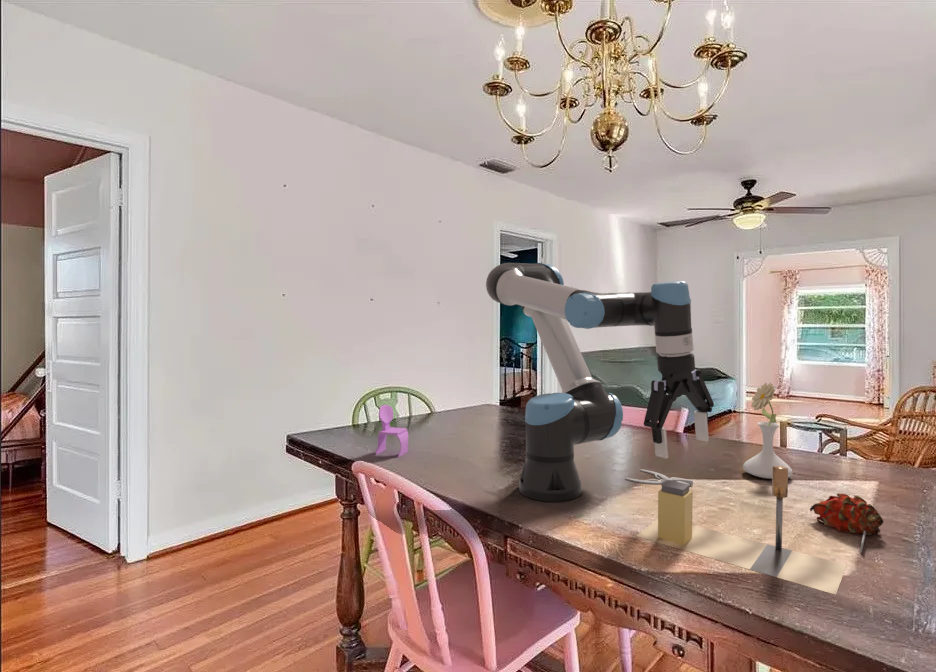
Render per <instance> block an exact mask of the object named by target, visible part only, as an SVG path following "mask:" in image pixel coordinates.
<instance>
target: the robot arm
mask: <svg viewBox="0 0 936 672" xmlns="http://www.w3.org/2000/svg"><path fill="white" fill-rule="evenodd" d="M485 287H486V291H487V294H488V295H489V297H490V298H491V299H492V300H493V301H495V302H496V303H499V304H501V305H505V306H514V305H515V306H516V305H517V306H521V309H522V312H523V314H524V315H525V316H527V317H529V318H531V319H532V322H533V324H534V327H535V328H536V331H537V333H538V336H539V338H540V341H541V343H542V345H543V347H544V350H545V353H546V354H547V357H548V360H549V363H550V365H551V367H552V369H553V371H554V372H553V373H554V374H555V377H556V379H557V381H558V383H559V386H560V388H561V392H553V393H548V392H547V393H542V394H539V395H538V394H537V395H535V396H534V397H533V396H532V397H531V398H530V399H529V400H527V403H526V404H525V414H524V421H525V461H524V465H523V468H522V470H521V471H522V472H521V474H520V477H519V481H518V491H519V493H521V494H522V495H523V496H524V497H526V498H528V497H529V498H528V499H532V500H535V501H540V500H541V502H565V501H570V500H573V499H576V498H578V497H579V496H581V494H582V481H581V478H580V475H579V472H578V469H577V466H576V462H575V452H574V451H575V445H580V444H585V443H591V442H596V441H604V440H605V439H608V438H612V437H614V436H615V435H616V434H618V432H619V431H620V429H621V427H622V424H623V423H622V422H623V421H624V409H623V405H622V403H621V401H620V400H619V398H618V396H616V395H615V394H613V393H611V392H610V391H609V392H608V391H607V392H606V391H605V389H604V387H603V384H602V382H601V381H600V380H597V379H594V378H593V377H592V374H591V372H590V370H589V368H588V365H587V364H586V363H587V362H586V361H585V358H584V356H583V355H582V351H581V350H580V348H579V347H580V346H579V345H578V343H577V341H576V339H575V336H574V334H573V332H572V329H571V328H570V326H572V327H573V328H576V329H586V330H589V329H595V328H596V329H597V328H607V327H609V328H611V327H613V328H614V327H629V326H649V327H654V328H653V329H654V339H655V352H656V353H657V354H658V355H657V356H656V361H657V370H658V372H659V373H660V374H661V380H651V382H650V385H651V386H650V389H651V390H650V395H649V400H648V403H647V408H646V411H645V412H646V413H645V416H644V421H643V426H644V427H647V428H651V433H652V435H651V436H652V442H653V443H654V451H655V452H654V453H655V455H654V456H656V457H659V458H663V459H668V458H669V450H668V439H667V438H668V436H667V428H666V427H664V425H665V422H666V421H667V417H668V415H669V413H670V410H671V408H672V406H673V403H674V402H676V401H677V399H678V398H679V397H680V398H681V397H682V396H685V397H686V398H687V399H688V401H690V403H691V405H692V406H693V407H694V408H695V409H696V410H695V411H693V417H694V429H695V431H694V432H695V440H698V441H702V442H705V443H707V442H709V440H710V438H709V426H708V425H709V417H708V416H709V414H708V413H712V411H713V407H714V405H715V403H714V401H713V398H712V396H711V394H710V392H709V391H710V390H709V389H708V387H707V385H706V383H705V380H704V375H703V372H702V371H703V370H701V369H696V364H695V363H696V361H695V354H694V353H693V351H694V341H693V339H694V338H693V328H692V305H691V302H692V300H691V296H690V290H689V285H688V283H687V282H686V281H684V280H673V281H661V282H655V283H653V284H652V285H651V287H650V289H651V291H649V292H648V291H647V292H639V291H638V292H629V291H628V292H595V291H589V290H584V289H580V288H576V287H573V286H568V285H565V282H564V278H563V276H562V274H561V272H560V271H559V270H558V268H557V267H555V266H553V265H551V264H549V263H548V264H547V263H544V262H542V263H541V262H536V263H525V262H522V263H520V262H504V263H501V264H498V265H496V266H495V267H493V268H492V269H491V271H489V273H488V275H487V277H486V281H485Z"/></svg>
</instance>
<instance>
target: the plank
mask: <svg viewBox="0 0 936 672" xmlns="http://www.w3.org/2000/svg"><path fill="white" fill-rule="evenodd" d="M635 537H638V538H640V539H645V540H648V541H652V542H655V543H657V544H661V545H665V546H668V547H672V548H676V549H678V550H682V551H685V552H689V553H692V554H696V555H699V556H701V557H706V558H709V559H712V560H716V561H719V562H723V563H726V564H730V565H732V566H736V567H738V568H739V567H740V568H743V569H746V570H750V571H753V572H756V573H761V574H764V575H766V576H771V577H773V578H777V579H780V580H785V581H788V582H790V583H794V584H798V585H800V586H801V585H802V586H804V587H808V588H810V589H813V590H818V591H821V592H825V593H828V594H831V595H835V596H836V595H837V592H838V590H839V588H840V587H839V586H840V585H841V581H842V579H843V576H844V574H845V571H846V568H847V564H845V563H842V562H837V561H833V560H829V559H826V558H822V557H818V556H815V555H810V554H806V553H803V552H799V551H795V550H791V549H787V548H783V547H782V550H781V551H778V550H776V549H775V545H772V544H769V543H764V542H761V541H757V540H753V539H749V538H744V537H741V536H737V535H734V534H730V533H725V532H722V531H718V530H714V529H710V528H706V527H703V526H700V525H695V524H692V538H691V539H690V540H689V541H688V542H687V543H686V544H685V545H682V544H679V543H675V542H672V541H668V540H665V539H662V538H658V518H656V520H654V521H653V522H651V524H649V525H648V526H647V527H645V528H644V529H643V530H642V531H639V533H638V534H636V535H635Z"/></svg>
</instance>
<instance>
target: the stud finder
mask: <svg viewBox="0 0 936 672" xmlns="http://www.w3.org/2000/svg"><path fill="white" fill-rule="evenodd" d="M693 495H694V492H693V491H692V490H690V486H689V485H686V484H681V483H676V482H671V481H667V482H666V483H664V484H661V489H659V490H658V492H657V519H658V538H662V539H665V540H668V541H672V542H675V543H679V544H682V545H685V544H686V543H687V542H688V541H689V540H690V539H691V538H692V525H693Z"/></svg>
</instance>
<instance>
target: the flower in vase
mask: <svg viewBox="0 0 936 672" xmlns="http://www.w3.org/2000/svg"><path fill="white" fill-rule="evenodd" d="M775 392H776V389H775V386H774V385H773V383H772V382H769V383H767V382H764V384H762V385H760V387H757V388H756V392H755V393H754V395H753V396H752V398H751V401H752V402H751V408H753V410H754V411H759V410H761V414H762V415H763V416H764V417H765V418H767V420H769V421H758V422H757V425H758V426H759V428H760V431H761V434H762V449H761V451H760V452H759V453H757V454H756V455H754V456H753V457H751V458H749V459H748V460H746V461H745V462H744V463H743V466H742V468H743V470H744V471H745V472H746V473H747V474H750V475H752V476H755V477H758V478H762V479H769V480H772V472H773V466H783V467H786V468H788V478H790V477H791V476H792V475H793V474H794V472H793V469H792V467H791V466H790V465H789V464H788V463H786V461H784V460H783V459H782V458H780V457H779V456H778V455H777V454H776V453H775V451H774V435H775V432H776V430H777V429H778V428H779V426H780V424H779V423H778V422H777V418H776V417H777V413H774V409H773V406H772V404H771V401H772V400H773V397H774V395H775ZM767 405H768V406H769V407H770V410H771V413H769V412H768V411H767V410H766V409H765V408H766V407H767Z"/></svg>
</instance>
